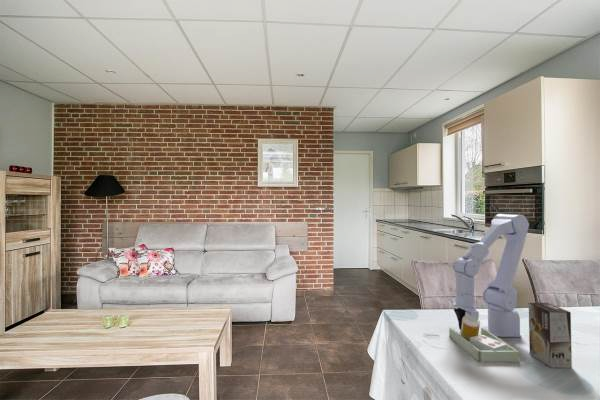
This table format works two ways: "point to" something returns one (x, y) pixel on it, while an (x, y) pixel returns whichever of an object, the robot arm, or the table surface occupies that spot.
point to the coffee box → (550, 334)
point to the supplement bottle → (469, 326)
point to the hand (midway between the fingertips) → (463, 330)
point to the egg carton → (487, 343)
